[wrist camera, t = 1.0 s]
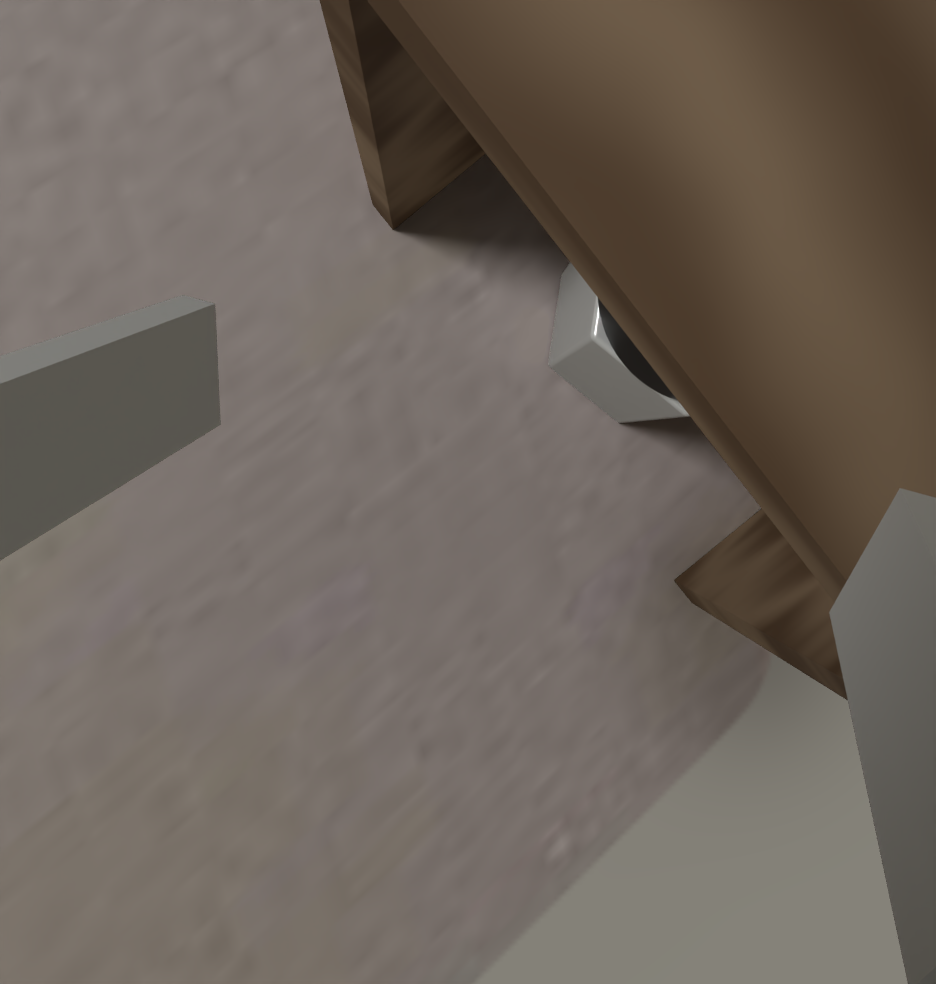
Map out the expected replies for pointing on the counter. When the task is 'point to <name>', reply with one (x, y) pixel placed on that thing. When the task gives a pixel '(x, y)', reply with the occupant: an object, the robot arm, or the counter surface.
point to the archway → (709, 234)
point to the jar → (605, 358)
